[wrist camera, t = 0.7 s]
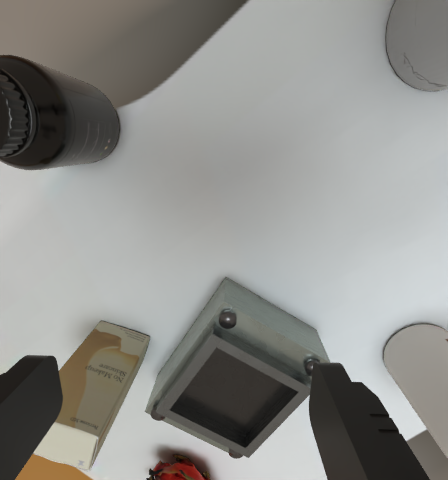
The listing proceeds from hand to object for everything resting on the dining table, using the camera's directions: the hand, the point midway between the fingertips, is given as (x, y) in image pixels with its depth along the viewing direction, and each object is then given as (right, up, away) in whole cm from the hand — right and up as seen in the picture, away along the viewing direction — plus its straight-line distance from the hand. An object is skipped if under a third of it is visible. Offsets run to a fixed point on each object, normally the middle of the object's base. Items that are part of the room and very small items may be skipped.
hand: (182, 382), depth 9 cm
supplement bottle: (-11, +15, +17) cm, 26 cm away
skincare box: (-11, -8, +25) cm, 28 cm away
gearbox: (+2, -9, +24) cm, 26 cm away
